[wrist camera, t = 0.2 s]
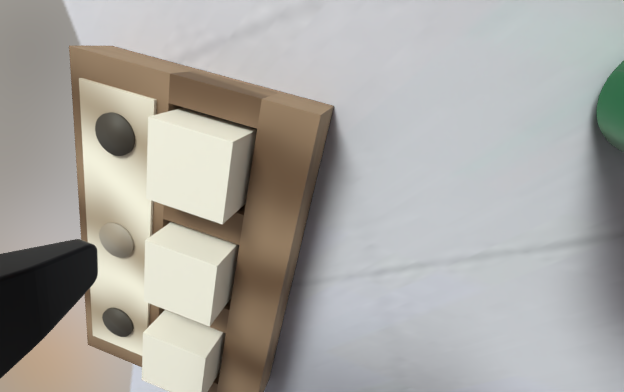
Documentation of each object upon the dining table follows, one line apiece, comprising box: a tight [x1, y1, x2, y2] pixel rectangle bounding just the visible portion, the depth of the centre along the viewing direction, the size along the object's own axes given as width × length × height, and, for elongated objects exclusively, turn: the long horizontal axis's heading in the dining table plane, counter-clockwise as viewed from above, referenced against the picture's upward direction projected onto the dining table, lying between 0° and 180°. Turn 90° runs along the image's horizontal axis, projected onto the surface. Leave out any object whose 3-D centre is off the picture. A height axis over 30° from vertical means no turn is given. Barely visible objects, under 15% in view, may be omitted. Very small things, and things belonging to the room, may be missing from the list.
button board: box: [69, 46, 334, 392], centre depth 24 cm, size 22×14×3 cm, turn 167°
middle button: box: [144, 222, 239, 327], centre depth 22 cm, size 4×4×3 cm
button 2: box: [142, 310, 226, 392], centre depth 25 cm, size 4×4×3 cm
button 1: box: [146, 108, 257, 224], centre depth 19 cm, size 4×4×3 cm
